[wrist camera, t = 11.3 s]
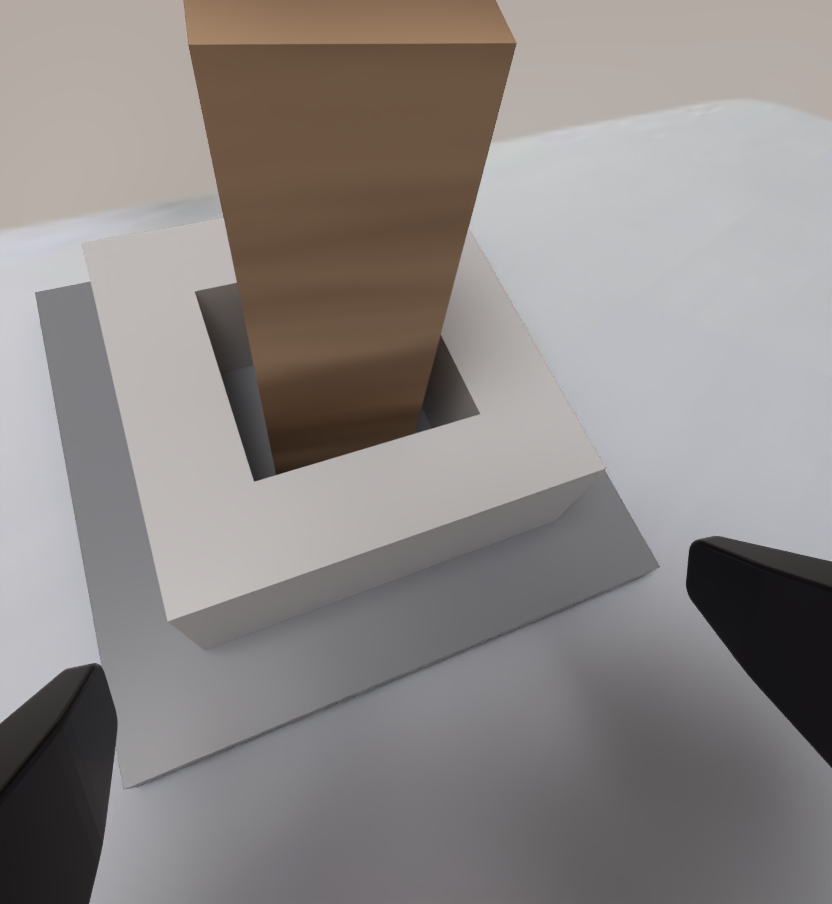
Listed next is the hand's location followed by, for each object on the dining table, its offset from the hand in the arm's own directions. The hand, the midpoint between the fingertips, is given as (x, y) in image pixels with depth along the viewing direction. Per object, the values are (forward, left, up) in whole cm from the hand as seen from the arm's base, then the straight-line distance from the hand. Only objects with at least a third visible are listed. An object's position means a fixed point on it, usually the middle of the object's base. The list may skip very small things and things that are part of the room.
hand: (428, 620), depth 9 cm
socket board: (+6, -5, -9) cm, 12 cm away
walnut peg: (+6, -5, -8) cm, 12 cm away
